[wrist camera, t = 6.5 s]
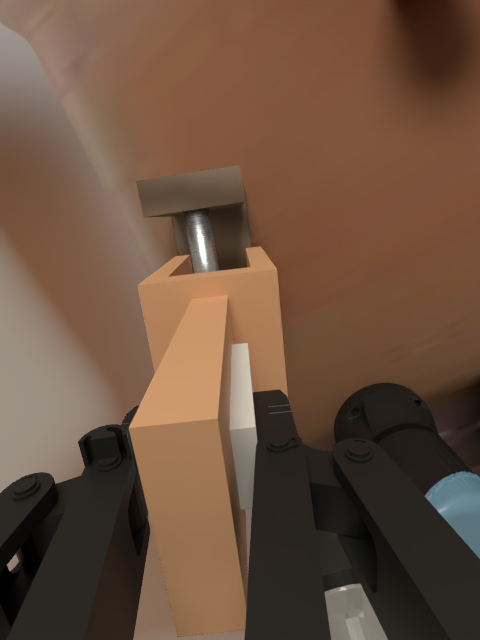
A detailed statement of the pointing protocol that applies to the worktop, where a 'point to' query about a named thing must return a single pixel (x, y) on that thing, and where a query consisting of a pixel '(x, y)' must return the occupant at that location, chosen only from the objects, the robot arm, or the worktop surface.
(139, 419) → the tan joined planks
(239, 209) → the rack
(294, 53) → the worktop surface
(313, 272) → the worktop surface
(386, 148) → the worktop surface
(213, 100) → the worktop surface
